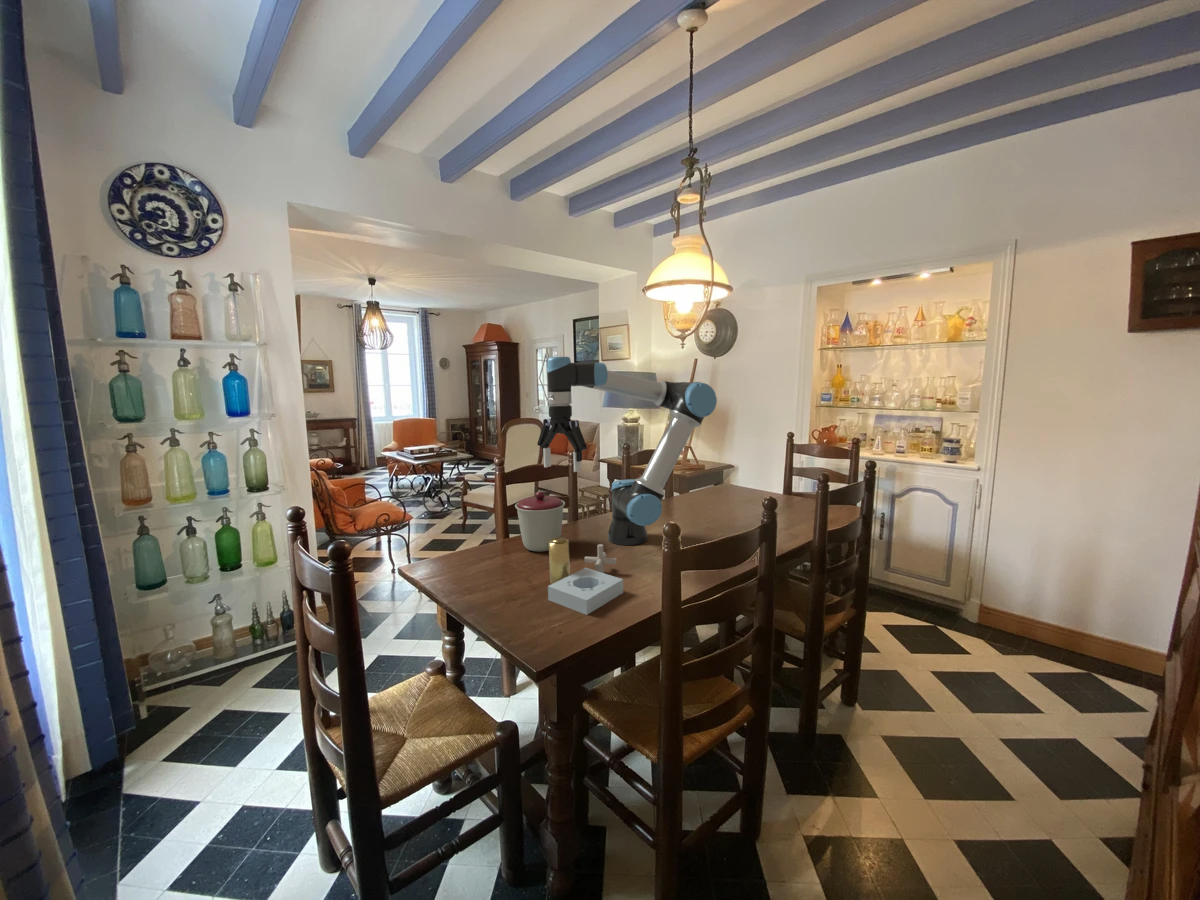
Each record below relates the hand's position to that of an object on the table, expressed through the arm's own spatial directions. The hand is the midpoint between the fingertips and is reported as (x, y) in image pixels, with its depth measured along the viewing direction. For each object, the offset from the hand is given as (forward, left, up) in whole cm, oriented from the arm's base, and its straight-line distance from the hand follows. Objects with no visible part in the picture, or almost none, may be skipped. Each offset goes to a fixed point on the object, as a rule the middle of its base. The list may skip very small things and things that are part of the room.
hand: (562, 469), depth 158 cm
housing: (+18, +25, -32) cm, 44 cm away
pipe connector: (+3, +18, -32) cm, 37 cm away
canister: (-4, -15, -32) cm, 36 cm away
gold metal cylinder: (+15, +12, -31) cm, 37 cm away
